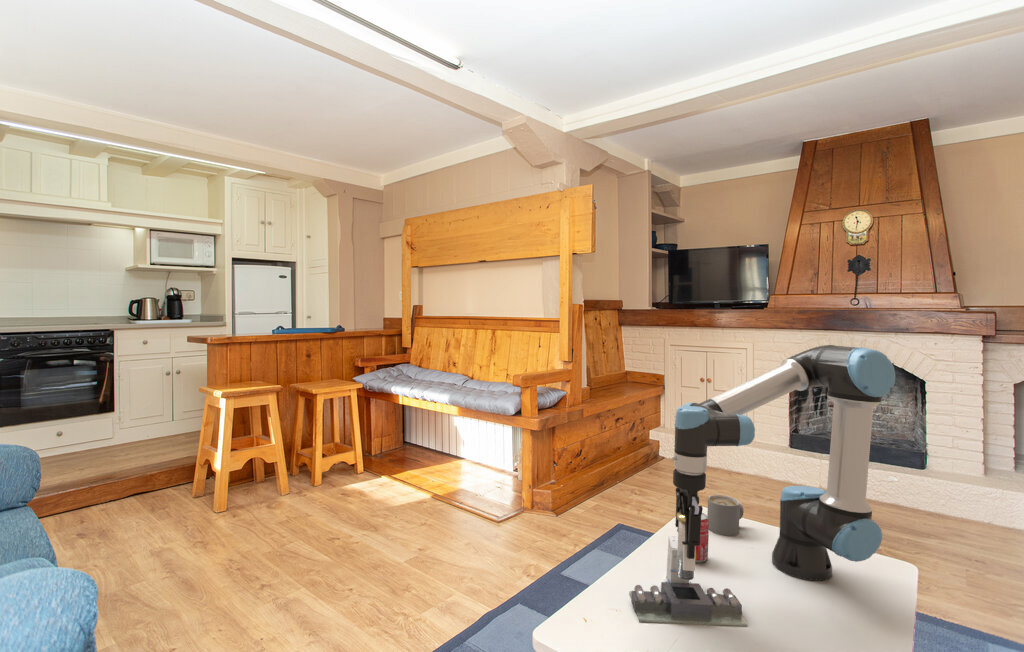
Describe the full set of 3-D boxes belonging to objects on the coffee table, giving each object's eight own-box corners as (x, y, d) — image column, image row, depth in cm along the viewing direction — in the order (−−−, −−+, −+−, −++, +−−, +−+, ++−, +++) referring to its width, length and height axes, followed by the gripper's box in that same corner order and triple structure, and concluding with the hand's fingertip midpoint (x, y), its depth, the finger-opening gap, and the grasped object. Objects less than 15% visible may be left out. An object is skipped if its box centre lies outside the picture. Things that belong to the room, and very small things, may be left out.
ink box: (689, 595, 132) (691, 550, 132) (669, 593, 133) (670, 548, 133) (685, 578, 141) (686, 536, 140) (666, 576, 142) (667, 534, 141)
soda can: (710, 556, 154) (711, 513, 153) (704, 566, 148) (706, 521, 147) (685, 550, 158) (687, 508, 157) (679, 559, 152) (681, 516, 151)
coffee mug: (718, 536, 167) (719, 506, 167) (701, 524, 177) (702, 495, 177) (754, 534, 170) (755, 504, 170) (735, 521, 180) (736, 493, 179)
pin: (692, 571, 128) (694, 511, 128) (698, 581, 123) (701, 520, 123) (672, 570, 129) (674, 511, 128) (677, 580, 124) (680, 519, 123)
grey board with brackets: (728, 597, 132) (729, 581, 132) (748, 626, 120) (748, 608, 120) (628, 593, 133) (628, 577, 133) (637, 621, 121) (638, 604, 121)
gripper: (664, 459, 134) (661, 548, 135) (684, 481, 117) (680, 582, 118) (694, 460, 134) (690, 549, 134) (717, 482, 117) (713, 584, 117)
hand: (685, 564), depth 126 cm, fingers closed on pin, 4 cm apart
